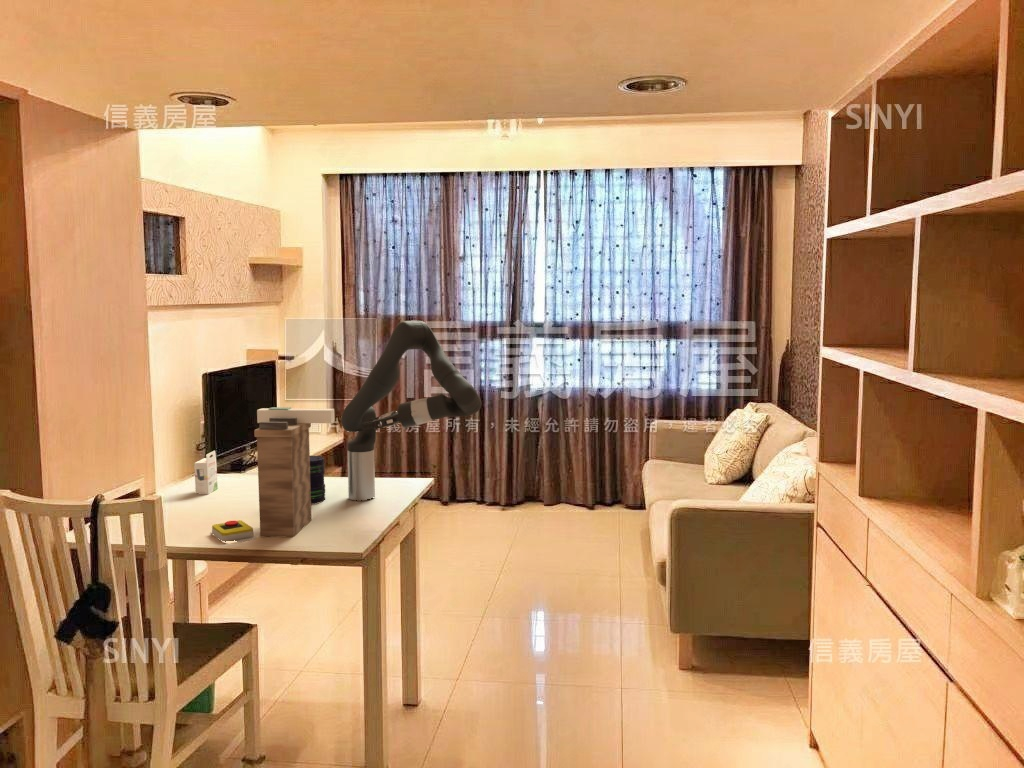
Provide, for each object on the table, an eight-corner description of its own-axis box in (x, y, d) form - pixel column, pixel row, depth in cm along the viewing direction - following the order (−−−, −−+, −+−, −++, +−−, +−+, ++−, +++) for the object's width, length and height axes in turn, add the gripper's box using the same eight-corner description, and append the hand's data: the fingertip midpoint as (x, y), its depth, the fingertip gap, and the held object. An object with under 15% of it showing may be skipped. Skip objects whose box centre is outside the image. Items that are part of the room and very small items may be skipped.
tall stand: (279, 519, 252) (276, 414, 248) (313, 519, 251) (310, 414, 248) (258, 536, 233) (254, 423, 229) (294, 537, 233) (291, 423, 229)
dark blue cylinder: (293, 504, 271) (292, 461, 270) (300, 497, 281) (298, 455, 279) (322, 503, 271) (321, 461, 270) (328, 496, 281) (327, 455, 280)
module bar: (262, 421, 247) (261, 407, 247) (334, 421, 246) (334, 407, 246) (257, 422, 243) (256, 408, 243) (331, 423, 242) (330, 409, 242)
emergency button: (239, 515, 243) (257, 525, 231) (240, 528, 243) (257, 540, 231) (208, 520, 237) (224, 531, 225) (209, 534, 238) (225, 546, 226)
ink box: (204, 489, 293) (203, 449, 292) (218, 489, 293) (216, 449, 291) (194, 494, 284) (193, 454, 283) (208, 494, 284) (206, 454, 283)
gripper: (417, 397, 247) (368, 409, 249) (407, 404, 233) (355, 417, 234) (423, 420, 247) (375, 432, 249) (414, 428, 233) (362, 441, 235)
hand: (365, 425), depth 242 cm, fingers open, 8 cm apart
